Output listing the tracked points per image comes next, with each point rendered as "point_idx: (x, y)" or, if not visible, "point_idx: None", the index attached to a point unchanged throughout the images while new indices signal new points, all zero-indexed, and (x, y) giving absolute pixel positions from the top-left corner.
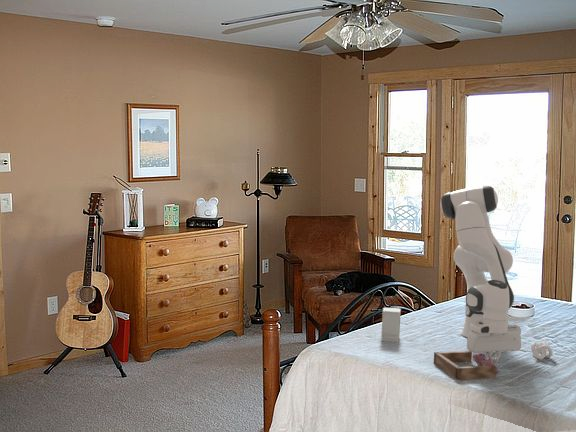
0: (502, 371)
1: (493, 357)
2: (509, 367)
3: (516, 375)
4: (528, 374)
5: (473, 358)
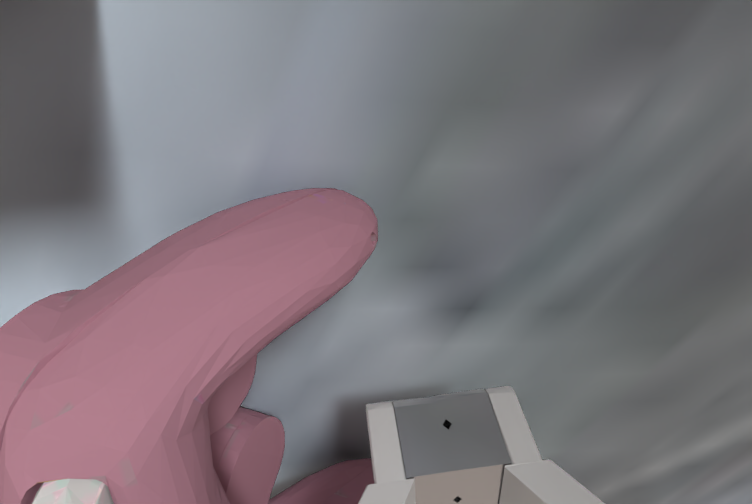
0: None
1: (485, 468)
2: (715, 283)
3: None
4: (709, 472)
5: (26, 331)
